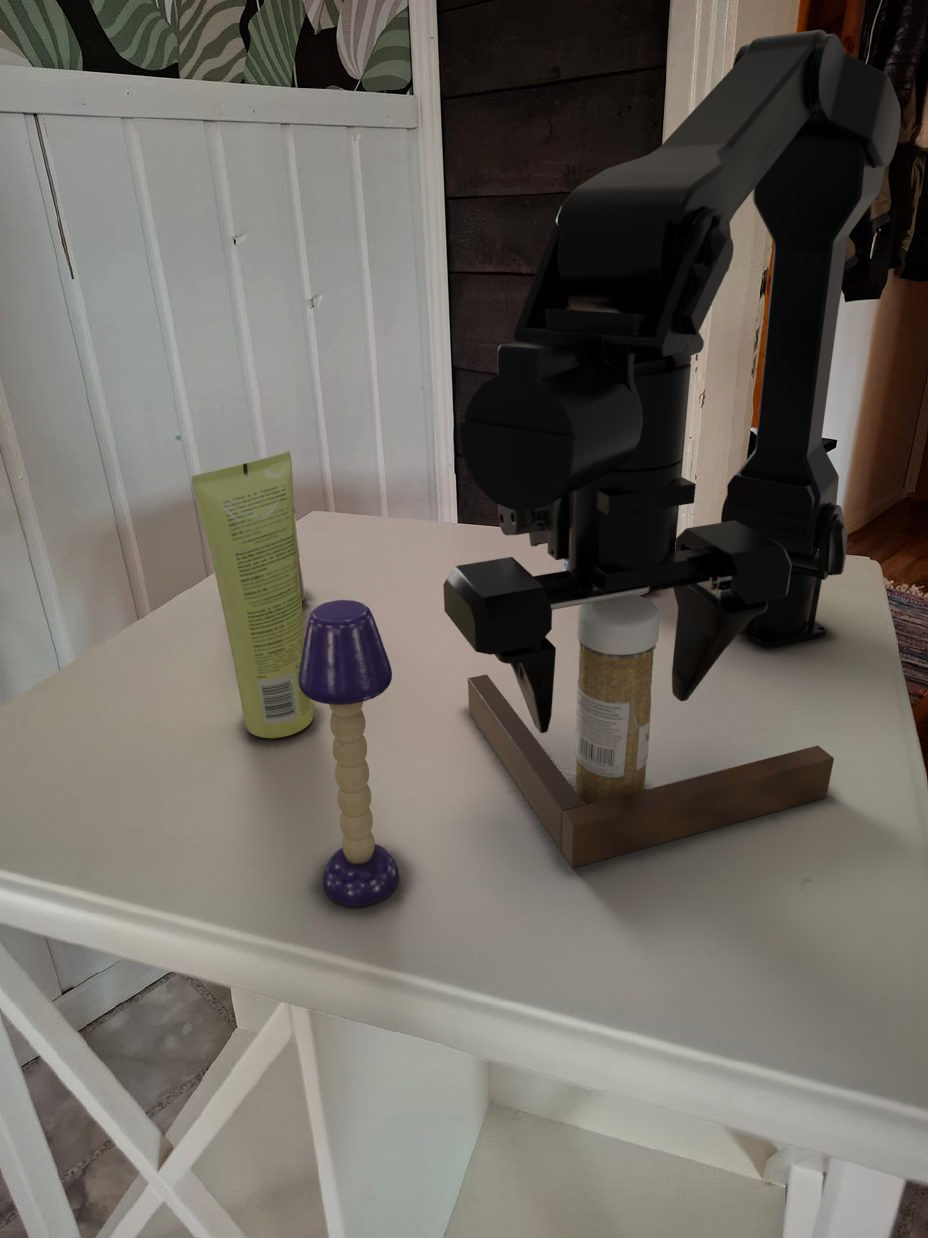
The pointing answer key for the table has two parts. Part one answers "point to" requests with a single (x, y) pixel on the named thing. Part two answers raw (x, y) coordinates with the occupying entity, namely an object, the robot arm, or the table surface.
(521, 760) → the corner fence
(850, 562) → the table surface
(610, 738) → the sprinkles bottle
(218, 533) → the tube
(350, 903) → the toy lamp
